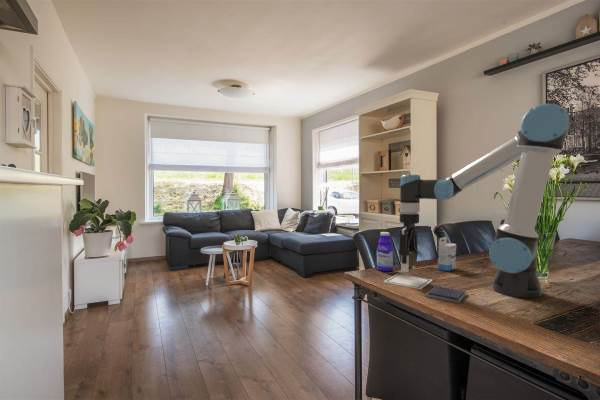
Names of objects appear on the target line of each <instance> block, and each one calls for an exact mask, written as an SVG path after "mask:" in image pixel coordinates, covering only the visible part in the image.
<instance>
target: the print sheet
mask: <svg viewBox="0 0 600 400" xmlns="http://www.w3.org/2000/svg"><path fill="white" fill-rule="evenodd" d="M433 281H434V280H433V279H431V278H425V277H424V278H423V277H421V276H420V277H418V276H415V275H407V274H402V273H397V274H393V276H391V277H389V278H387V279H386V280H383V281H382V283H385V284H390V285H396V286H400V287H406V288H411V289H416V290H422V289H424V288H425V287H426V286H427V285H429V284H430V283H432V282H433Z"/></svg>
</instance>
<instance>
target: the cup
mask: <svg viewBox="0 0 600 400" xmlns="http://www.w3.org/2000/svg"><path fill="white" fill-rule="evenodd" d="M403 252H404V251H403ZM409 252H410V250H408V255H409V271H410V272H411V271H412V270H413V269H414V268H413V266H414V265H415V266H416V264H417V260H418V256H419V255H418V253H419V252H417V251H416V250H414V251H413V250H411V252H412V253H413V254H412V253H409ZM398 256H399V257H398V258H399V262H400V264H401V256H402V255H399V254H398Z"/></svg>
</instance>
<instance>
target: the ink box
mask: <svg viewBox="0 0 600 400" xmlns="http://www.w3.org/2000/svg"><path fill="white" fill-rule="evenodd" d="M447 239H448V238H447V236H443V237H439V239H438V268H437V269H438V270H439V271H445V272H450V271H453V270H455V269H457V268H456V267H457V264H456V263H457V261H456V260H457V243H451V242H447Z"/></svg>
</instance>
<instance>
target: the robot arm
mask: <svg viewBox="0 0 600 400" xmlns="http://www.w3.org/2000/svg"><path fill="white" fill-rule="evenodd" d="M570 128H571V123H570V116H569V113H568V112H567V111H566V109H565V108H563V107H561V106H560V105H558V104H553V103H542V104H538V105H535V106H533V107H531V108H530V109H529V110H527V111H526V112H525V114H524V115H523V117H522V118H521V122H520V130H519V131H517V132H516V133H515V136H514V137H511V139H509V140H508V141H505V142H504V143H502V144H501V145H499V146H497V147H496V148H494V149H492V150H491V151H489V152H488V153H486V154H484V155H482V156H481V157H479V158H477V159H475V160H474V161H473V162H471V163H469V164H468V165H466V166H464V167H462V168H461V169H459V170H458V171H456V172H454V173H453V174H451V175H449V176H448V177H446V178H444V179H442V178H441V179H422V178H421V175H419V174H403V175H401V176H400V184H399V189H400V191H399V195H400V196H399V204H398V207H399V212H400V214H399V223H401V224H403V226H402V228H400V229H399V234H400V235H399V249H398V256H399V255H402V256H401V263H400V265H401V266H400V271H401V272H405V273H409V255H408V250H410V252H409V253H412V252H411V250H413V251H414V250H416V251H417V252H418V229H419V228H418V226H416V225H415V224H419V223H420V214H419V213H420V212H421V211H420V209H421V207H420V205H421V201H420V200H421V199H422V200H424V199H425V200H441V201H443V200H446V201H447V200H451V199H452V198H454V197H455V196H457V195H458V194H459V193H461V192H462V191H465V190H466V189H467V188H469V187H471V186H473V185H475V184H477V183H478V182H480V181H482V180H484V179H486V178H488V177H489V176H491V175H493V174H495V173H497V172H498V171H500V170H502V169H503V168H506V167H508V166H509V165H511V164H514V162H516V161H518V160H519V161H518V165H517V170H516V173H515V178H514V181H513V186H512V191H511V194H510V198H509V200H508V201H509V202H508V206H507V209H506V215H505V216H504V217H505V218H504V222H503V224H500V225H498V226H497V228H496V232H495V236H494V240H493V242H492V244H491V245H490V247H489V251H488V252H489V253H488V254H489V259H490V261H491V263H492V264H493V265H494V267H496V268H497V269H498V270H497V272H496V275H495V277H494V279H493V282H492V289H493V290H494V291H495V292H497V293H500V294H503V295H505V296H509V297H513V298H514V297H515V298H522V299H524V298H525V299H536V298H537V299H538V298H541V297H542V296H543V288H542V286H541V282H540V280H539V275H538V274H537V272H538V269H537V264H538V262H537V261H538V242H539V234H538V232H537V231H536V230H535V229H536V226H537V220H538V218H539V213H540V210H541V206H542V202H543V198H544V195H545V191H546V187H547V185H548V184H547V183H548V180H549V177H550V173H551V169H552V165H553V161H554V157H555V156H556V155H558V154H559V153H561V152H562V150H563V147H564V143H565V139H566V136H567V135H568V133H569V131H570ZM403 251H404V252H403ZM418 253H419V252H418ZM412 254H413V253H412ZM413 269H416V264H415V265H414V266H413Z"/></svg>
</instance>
